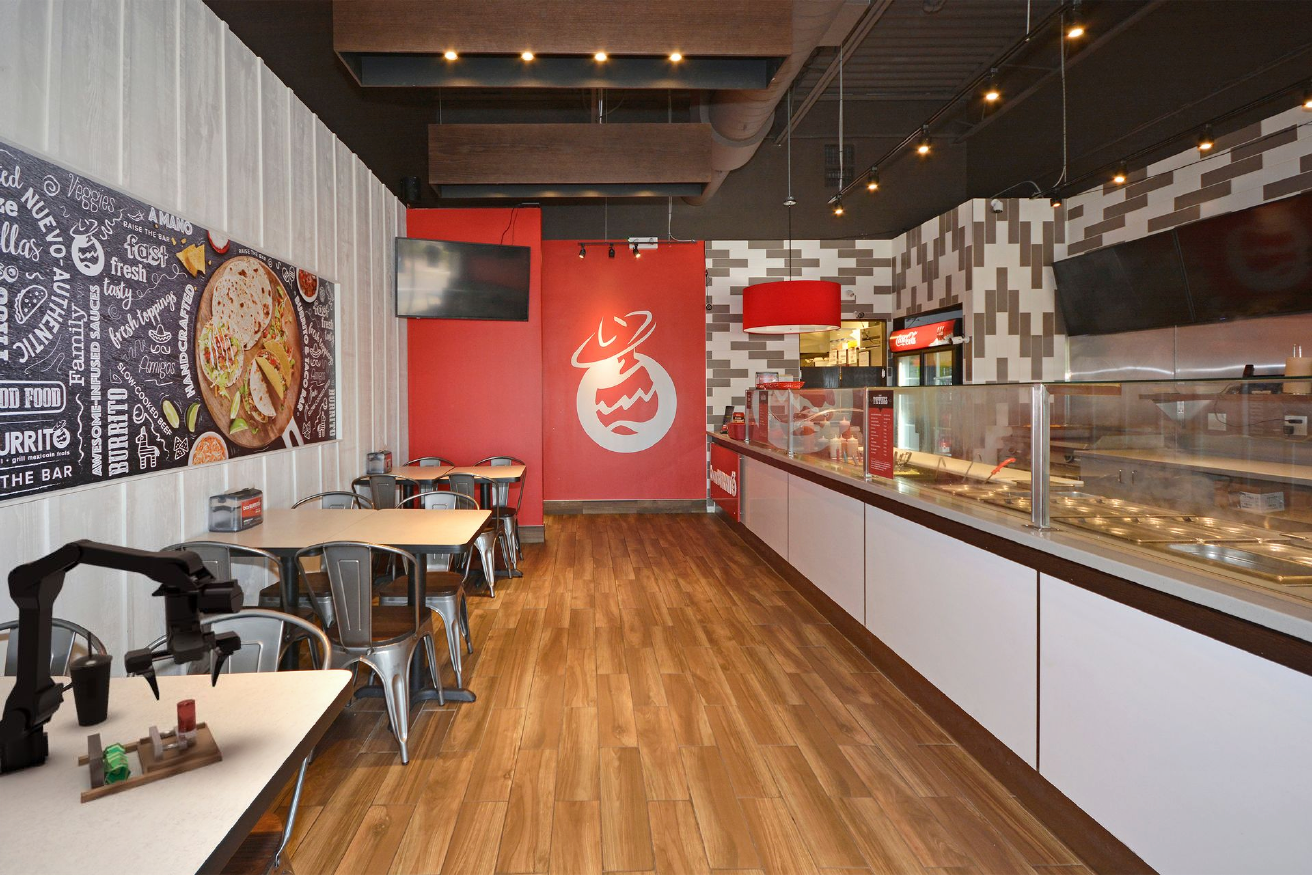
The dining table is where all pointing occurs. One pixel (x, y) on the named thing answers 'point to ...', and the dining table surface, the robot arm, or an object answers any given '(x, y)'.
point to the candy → (115, 764)
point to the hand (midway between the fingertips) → (186, 692)
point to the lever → (176, 731)
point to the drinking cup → (91, 686)
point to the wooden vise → (149, 761)
